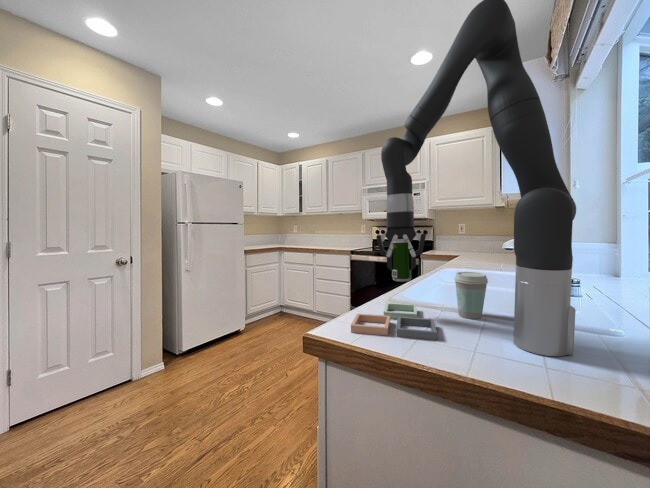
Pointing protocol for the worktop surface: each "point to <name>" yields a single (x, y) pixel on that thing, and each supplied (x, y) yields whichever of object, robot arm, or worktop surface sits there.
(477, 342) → the worktop surface
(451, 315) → the worktop surface
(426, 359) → the worktop surface
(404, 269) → the beer can
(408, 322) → the charcoal frame
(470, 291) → the coffee cup
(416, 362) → the worktop surface
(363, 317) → the terracotta frame
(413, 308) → the sage frame
